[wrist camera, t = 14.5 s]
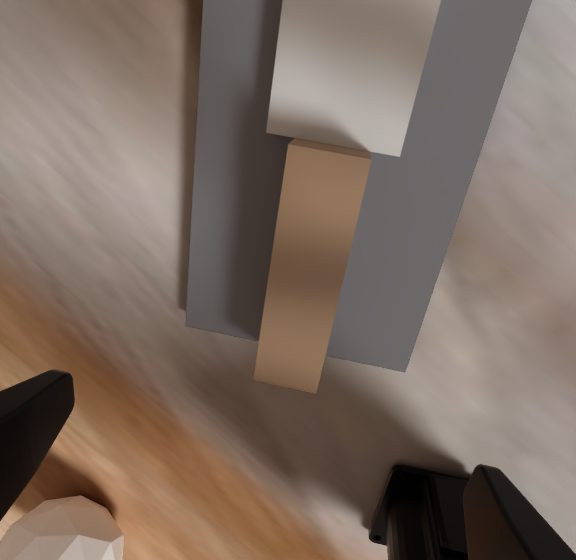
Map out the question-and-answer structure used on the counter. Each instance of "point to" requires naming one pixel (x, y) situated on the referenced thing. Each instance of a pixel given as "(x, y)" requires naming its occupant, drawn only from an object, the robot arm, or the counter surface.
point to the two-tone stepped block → (331, 158)
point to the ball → (64, 533)
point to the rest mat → (379, 186)
